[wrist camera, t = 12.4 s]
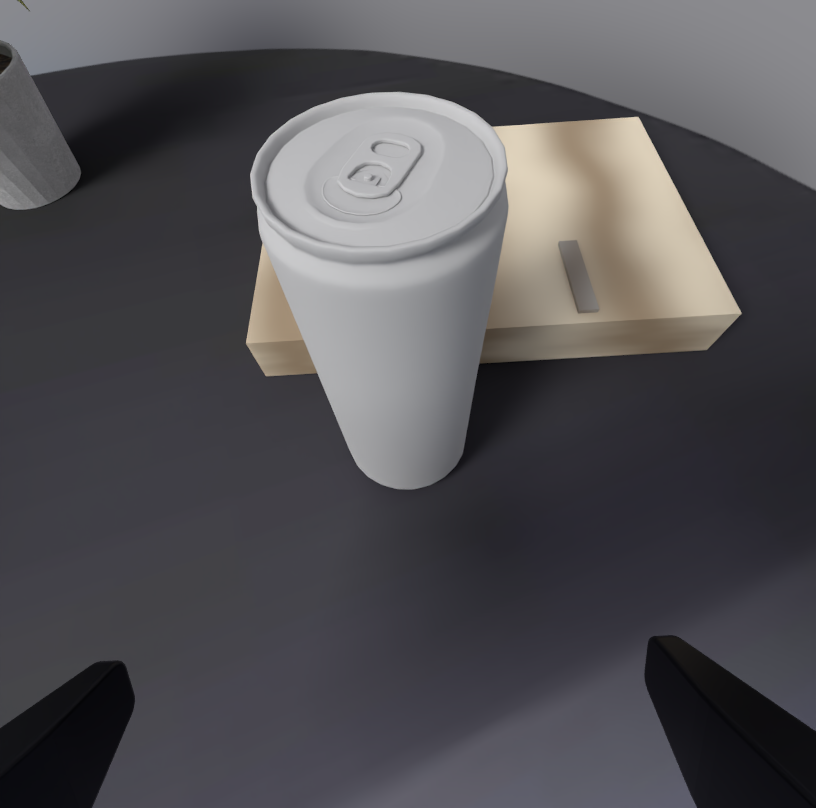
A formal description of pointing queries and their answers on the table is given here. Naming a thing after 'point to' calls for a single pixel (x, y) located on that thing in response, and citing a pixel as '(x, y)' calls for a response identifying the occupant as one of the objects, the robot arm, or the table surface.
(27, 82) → the house plant
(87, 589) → the table surface
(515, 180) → the chopping board
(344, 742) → the table surface
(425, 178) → the beverage can
